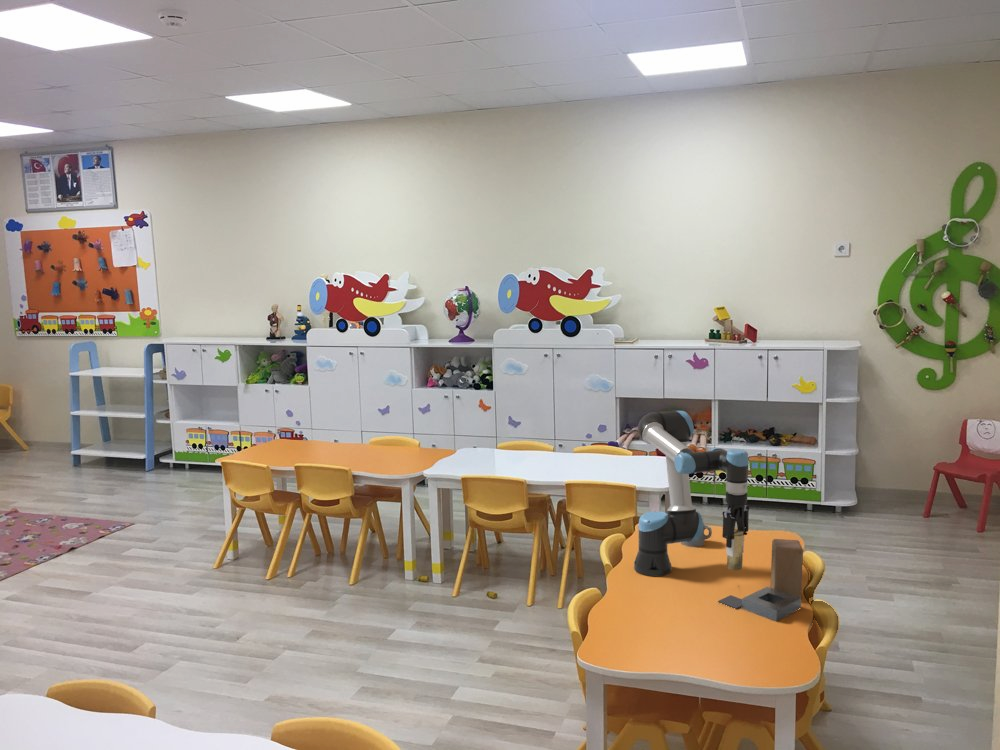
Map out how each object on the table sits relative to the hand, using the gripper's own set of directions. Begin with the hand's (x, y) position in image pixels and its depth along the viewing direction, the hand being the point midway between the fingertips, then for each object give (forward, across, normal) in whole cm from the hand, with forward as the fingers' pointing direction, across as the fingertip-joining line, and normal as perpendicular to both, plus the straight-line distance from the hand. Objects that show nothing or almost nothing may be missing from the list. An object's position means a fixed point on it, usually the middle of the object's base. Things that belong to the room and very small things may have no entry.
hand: (735, 553), depth 299 cm
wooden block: (+20, +22, -8) cm, 30 cm away
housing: (+19, +6, -12) cm, 23 cm away
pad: (+19, 0, 0) cm, 19 cm away
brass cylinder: (+5, 0, 0) cm, 5 cm away
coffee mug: (+19, +41, +48) cm, 66 cm away
